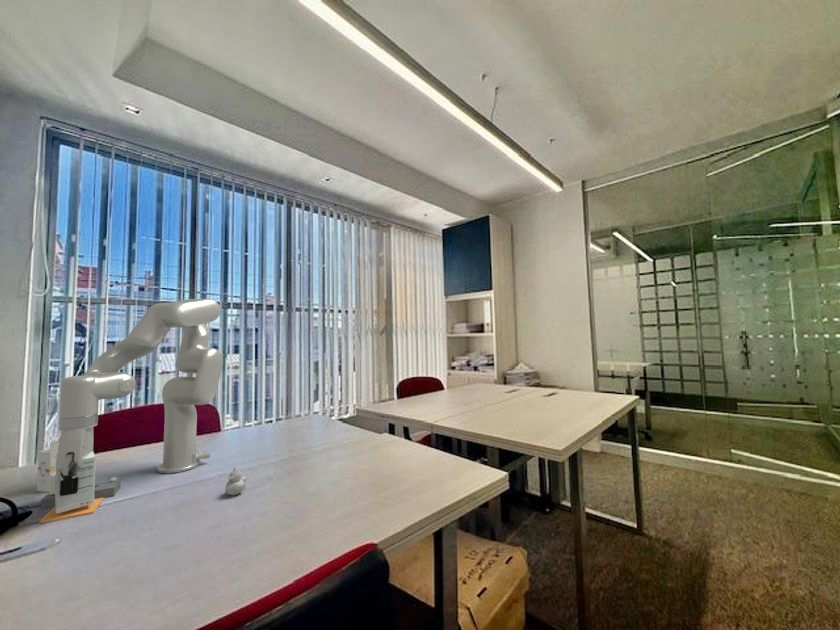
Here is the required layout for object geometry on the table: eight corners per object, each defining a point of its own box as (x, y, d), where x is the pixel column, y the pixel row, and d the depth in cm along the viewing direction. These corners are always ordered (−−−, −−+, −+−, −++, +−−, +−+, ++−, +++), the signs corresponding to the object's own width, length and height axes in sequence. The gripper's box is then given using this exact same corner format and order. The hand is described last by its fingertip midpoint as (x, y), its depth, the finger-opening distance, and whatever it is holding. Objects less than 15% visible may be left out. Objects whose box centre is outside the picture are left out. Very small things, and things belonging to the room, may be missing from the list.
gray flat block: (120, 486, 106) (120, 475, 106) (113, 496, 100) (114, 484, 100) (52, 498, 99) (52, 486, 99) (40, 509, 92) (41, 496, 93)
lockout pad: (103, 499, 98) (103, 497, 98) (93, 513, 90) (93, 511, 90) (54, 508, 93) (54, 506, 93) (39, 523, 85) (39, 521, 85)
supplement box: (54, 504, 92) (56, 456, 92) (92, 495, 97) (94, 449, 98) (54, 514, 87) (56, 463, 87) (94, 503, 92) (96, 455, 93)
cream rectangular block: (69, 487, 99) (70, 469, 100) (64, 492, 96) (65, 474, 96) (55, 489, 98) (56, 471, 98) (49, 495, 94) (50, 476, 95)
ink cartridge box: (69, 479, 112) (72, 433, 112) (81, 480, 111) (83, 434, 111) (35, 491, 103) (38, 441, 104) (47, 492, 102) (50, 442, 103)
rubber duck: (219, 496, 99) (220, 468, 100) (238, 487, 106) (239, 460, 106) (233, 499, 98) (234, 470, 98) (252, 489, 104) (252, 462, 104)
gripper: (72, 416, 99) (69, 478, 98) (44, 431, 84) (40, 504, 83) (106, 413, 102) (104, 473, 102) (86, 427, 87) (83, 497, 86)
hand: (75, 487), depth 92 cm, fingers open, 8 cm apart
